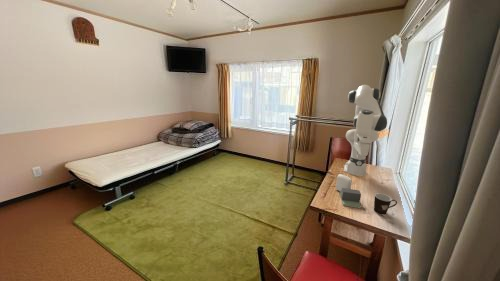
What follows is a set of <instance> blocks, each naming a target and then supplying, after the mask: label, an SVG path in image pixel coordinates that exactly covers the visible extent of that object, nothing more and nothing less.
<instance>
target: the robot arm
mask: <svg viewBox="0 0 500 281" xmlns="http://www.w3.org/2000/svg"><path fill="white" fill-rule="evenodd" d="M380 98H381V90H380V89H379V88H378V87H377V88H376V87H373V88H371V86H370V85H368V84H361V85H360V86H359V87H358V88H357V89H353V90H351V91H349V93H348V95H347V100H348V102H349V103H350V104H355V114H354V117H353V123H352V126H353V127H354V128H351V129H349V130H347V131H346V133H345V139H346V141H347V142H349V143H350V146H351V154H350V157H349V160H348V161H347V162H345V164H344V165H343V172H344V173H347V174H349V175H352V176H356V177H357V176H358V177H363V176H365V175H368V172H367V164H366V161H367V159H366V158H367V156H368V155H369V151H370V148H371V144H372V143H373V142H376V141H377V140H378V139H379V133H378V132H382V131H384V130H385V129H387V126H388V119H387V117H386V115H385V113H384V111H383V107H382V106H381V103H380V101H379V100H380Z"/></svg>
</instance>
